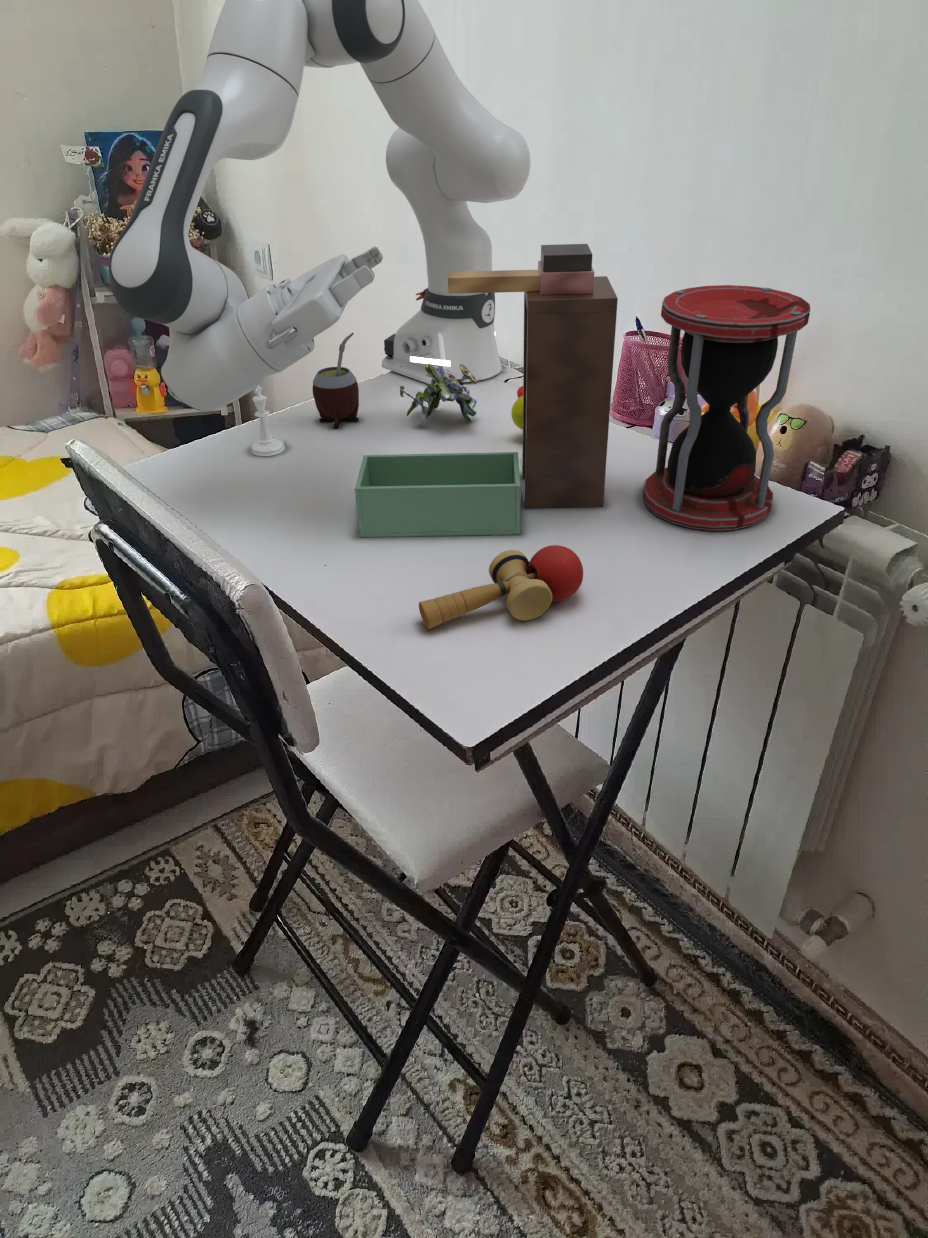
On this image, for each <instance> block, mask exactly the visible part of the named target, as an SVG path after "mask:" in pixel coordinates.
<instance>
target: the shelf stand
mask: <svg viewBox="0 0 928 1238" xmlns="http://www.w3.org/2000/svg"><path fill="white" fill-rule="evenodd" d="M618 301H619V298H618V295H617V294H616V292H615V290H614V288H613V286H612V284H611V281H610V280H609V278H608V276H607V275H603V276H602V275H601V276H599V275H598V276H594V291H593V294H562V295H540V291H537V292H523V356H522V359H523V361H522V362H523V364H522V367H523V368H522V369H523V370H522V373H523V374H522V386H523V430H522V448H521V449H522V450H521V451H522V452H521V453H522V456H521V457H522V459H521V460H522V463H521V465H522V466H521V467H522V468H521V476H522V479H524V509H559V508H562V509H563V508H565V509H566V508H603V507H604V501H605V499H604V498H605V485H606V484H605V483H606V472H607V471H606V469H607V457H608V443H609V442H608V441H609V429H610V428H609V427H610V415H611V414H610V412H611V400H612V388H613V387H612V386H613V371H614V357H615V355H614V354H615V343H616V331H617V329H616V328H617V314H618Z"/></svg>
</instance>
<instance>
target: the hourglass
mask: <svg viewBox="0 0 928 1238" xmlns="http://www.w3.org/2000/svg"><path fill="white" fill-rule="evenodd" d="M810 315H811V304H810V303H809V302H808V301H807V300H805V299H804V298H802V296H801V297H800V296H798V295H795V294H794V293H793V294H792V293H790V292H786V291H782V290H779V289H778V290H777V289H773V288H770V287H759V286H751V285H736V284H735V285H734V284H733V285H732V284H722V285H721V284H720V285H719V284H718V285H703V286H695V287H688V288H684V289H683V288H682V289H679V290H675V291H673V292H672V293H670V294H668V295H666V296H664V298H663V300H662V302H661V310H660V316H661V318H662V320H663V321H664V322H665V323H666V324H667V325H669V326H671V330H670V337H669V346H668V355H667V363H666V364H667V365H666V366H667V371H668V377H669V379H670V381H671V383H672V384H673V388H674V389H673V390H674V401H673V403H672V406H671V408H670V410H668V411H667V412H666V413H665V414H664V416H663V419H662V420H661V422H660V430H659V440H658V449H657V458H656V467H655V471H654V472H653V473H652V474H651V475H649V477H647V478H646V479H645V481H644V484H643V488H642V489H643V490H642V496H641V497H642V501H643V503H644V505H645V507H646V508H647V509H648V510H649V511H651V512H652V513H653V514H654V515H655V516H656V517H658V518H661V519H662V520H664V521H667V522H668V523H671V524H674V525H678V526H681V527H685V528H688V529H693V530H694V529H695V530H703V531H710V532H714V531H716V532H717V531H734V530H739V529H740V530H741V529H743V528H749V527H751V526H754V525H756V524H758V523H761V522H762V521H764V520H766V518H767V516H769V514H770V513H771V512H772V506H773V499H774V492H773V491H772V489H771V487H770V486H769V483H770V482H769V481H770V476H771V471H772V467H773V466H772V465H773V461H774V456H775V450H774V442H773V441H772V438H771V437H770V434H769V433H768V420H769V417H770V414H771V412H772V410H773V409H774V408H775V407H777V405H779V404H780V403H781V402H782V400H783V399H784V397H785V395H786V393H787V388H788V383H789V377H790V372H791V367H792V362H793V357H794V353H795V352H794V351H795V346H796V342H797V341H796V340H797V335H798V332H799V331H802V329H803V328H804V327H806V326H807V325H808V324H809V321H810ZM681 331H683V332H684V333H683V336H682V340H681ZM781 336H785V339H784V340H785V341H784V345H783V349H782V350H783V351H782V355H781V360H780V361H781V362H780V367H779V371H778V378H777V384H776V388H775V391H774V392H773V394H772V395H771V397H770V398H769V399H768V400H767V401H765V402H764V403H763V404H761V406H760V407H759V410H758V412H757V414H756V417H755V420H754V421H755V434H756V436H757V437H758V439H759V441H760V443H761V446H762V451H763V458H762V463H761V469H760V474H759V477H758V476H757V475H755V474H756V469H757V449H756V447H755V444H754V441H753V439H752V437H751V436H750V435H749V433H748V429H749V424H750V411H749V409H748V401H749V395H750V394H751V393H752V392H753V391H754V390H755V389H756V388H757V387H759V386H760V385H761V384H762V383H763V382H764V381H765V379H766V378H767V377H768V375H769V374H770V373H771V371H773V367H774V363H775V360H776V357H777V352H778V347H779V337H781ZM680 340H681V346H680ZM680 347H681V348H680ZM679 349H680V364H681V367H682V369H683V372H684V374H685V377H686V378H687V379H688V380H687V387H686V385H685V382H684V381H683V379H682V377H681V376H680V372H679V371H680V370H679V367H678V357H679ZM698 395H699V396H700V397H701V398H702V399H703V400H704V401H705V402H706V404H707V405H708V410H707V411H705V412H704V413H702V408H701V406H700V404H699V401H698ZM685 402H686V406H687V407H688V409H689V421H688V422H689V423H688V426H686V427H685V428H684V429H683V430H682V431H681V432H680V433H679V434H678V435H677V437H676V438H675V440H674V441H673V442H672V445H671V448H670V452H669V456H668V459H667V454H668V445H669V437H670V427H671V423H672V422H673V420H674V418H675V417H676V416H677V415H679V414H680V413H681V412H682V410H683V407H684V405H685ZM735 405H736V410H737V412H738V417H739V420H738V419H737V418H736V417H735V416H734V414H732V413H731V409H732V407H734V406H735ZM666 461H667V467H666Z"/></svg>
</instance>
